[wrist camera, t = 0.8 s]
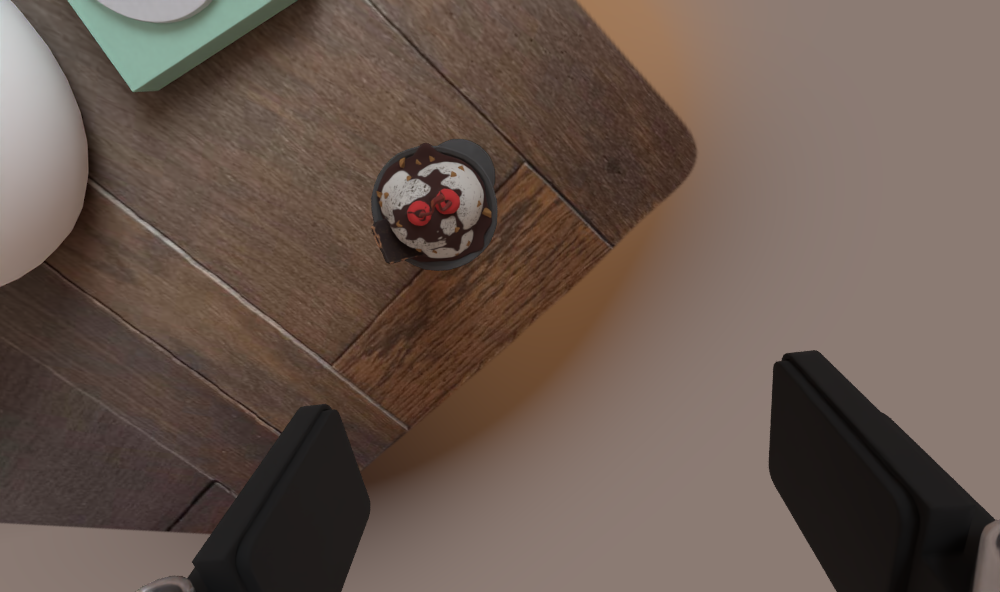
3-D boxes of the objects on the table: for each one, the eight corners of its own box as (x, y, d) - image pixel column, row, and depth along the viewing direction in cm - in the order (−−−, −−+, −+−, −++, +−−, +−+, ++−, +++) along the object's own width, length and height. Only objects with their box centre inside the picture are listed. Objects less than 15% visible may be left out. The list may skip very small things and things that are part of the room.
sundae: (507, 124, 34) (489, 159, 20) (506, 222, 37) (490, 310, 23) (410, 123, 35) (329, 157, 21) (416, 220, 37) (347, 305, 24)
